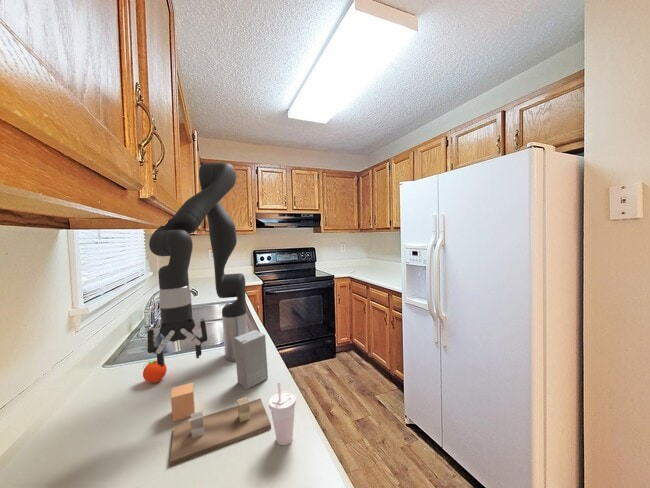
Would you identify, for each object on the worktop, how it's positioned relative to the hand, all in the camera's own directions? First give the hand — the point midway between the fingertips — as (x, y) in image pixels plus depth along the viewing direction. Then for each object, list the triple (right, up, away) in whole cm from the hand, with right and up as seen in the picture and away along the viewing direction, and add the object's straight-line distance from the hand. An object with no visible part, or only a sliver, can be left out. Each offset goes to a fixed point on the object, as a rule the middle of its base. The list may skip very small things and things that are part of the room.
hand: (180, 361), depth 74 cm
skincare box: (+16, -14, +15) cm, 26 cm away
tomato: (-19, -15, +18) cm, 30 cm away
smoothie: (+30, -14, -10) cm, 35 cm away
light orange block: (0, -15, +1) cm, 15 cm away
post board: (+14, -15, -6) cm, 21 cm away
